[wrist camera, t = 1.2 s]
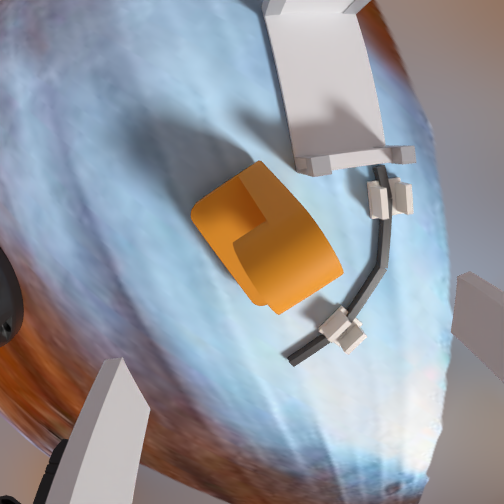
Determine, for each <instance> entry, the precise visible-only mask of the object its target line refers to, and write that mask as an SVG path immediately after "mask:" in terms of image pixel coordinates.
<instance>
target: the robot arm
mask: <svg viewBox="0 0 504 504" xmlns="http://www.w3.org/2000/svg"><path fill="white" fill-rule="evenodd" d="M23 313H24V309H23V299H22V294H21V290H20V286H19V283H18V280H17V277H16V275H15V273H14V270H13V268H12V266H11V264H10V262H9V261H8V259H7V257H6V256H5V254H4V253H3V251H2V250H1V249H0V347H2V346H4V345H6V344H7V343H8V342H9V341H10V340H11V339H12V338H13V337H14V336H15V335H16V334H17V333H18V331H19V330H20V328H21V325H22V322H23ZM451 333H452V334H453V335H454V336H455V337H456V338H458V339H459V340H460V341H461V342H462V343H463V344H464V345H465V346H466V347H467V348H468V349H469V350H470V351H471V352H472V353H473V354H475V355H476V356H477V357H478V358H479V359H480V360H481V361H482V362H483V363H484V364H485V365H486V366H487V367H488V368H489V369H490V370H491V371H492V372H493V373H494V374H495V375H496V376H497V377H498V378H499V379H500V380H501V381H502V382H503V383H504V292H503V291H501V290H500V289H498V288H497V287H495V286H493V285H492V284H490V283H488V282H487V281H485V280H483V279H482V278H480V277H479V276H477V275H475V274H474V273H472V272H467V273H464V274H462V275H459V276H458V277H457V288H456V298H455V306H454V314H453V321H452V327H451ZM149 413H150V408H149V406H148V404H147V402H146V401H145V399H144V397H143V396H142V394H141V392H140V390H139V388H138V387H137V385H136V383H135V381H134V379H133V377H132V375H131V374H130V372H129V370H128V368H127V366H126V364H125V362H124V360H123V358H115V359H106V360H105V361H104V363H103V365H102V367H101V369H100V371H99V373H98V375H97V377H96V379H95V381H94V384H93V386H92V388H91V390H90V392H89V394H88V397H87V399H86V401H85V403H84V405H83V408H82V410H81V412H80V415H79V417H78V419H77V422H76V424H75V426H74V429H73V431H72V433H71V436H70V438H69V439H62V441H61V442H60V443H59V444H58V445H57V446H56V448H55V449H54V450H53V453H52V455H51V457H50V460H49V464H48V465H47V467H46V471H45V474H44V475H43V478H42V480H41V483H40V485H39V488H38V491H37V494H36V497H35V499H34V502H33V504H132V499H133V493H134V488H135V481H136V476H137V471H138V466H139V461H140V455H141V450H142V445H143V441H144V436H145V431H146V426H147V422H148V417H149ZM0 504H21V503H20V502H18V501H17V500H16V499H15V498H13V497H11V496H7V495H6V496H1V497H0Z"/></svg>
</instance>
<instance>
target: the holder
mask: <svg viewBox="0 0 504 504" xmlns="http://www.w3.org/2000/svg"><path fill="white" fill-rule="evenodd" d="M369 1H371V0H263V2H262V5H261V9H262V12H263V16H264V20H265V24H266V28H267V32H268V36H269V40H270V44H271V49H272V53H273V57H274V61H275V66H276V70H277V75H278V79H279V84H280V89H281V93H282V98H283V103H284V108H285V113H286V118H287V123H288V128H289V133H290V138H291V144H292V149H293V155H294V160H295V166H296V172H297V173H301V174H305V175H308V176H312V177H317V176H323V175H329V174H332V170H338V169H344V168H351V167H358V166H366V165H373V164H381V163H395V164H410V163H416V156H415V148H414V146H389V145H385V138H384V132H383V126H382V120H381V115H380V109H379V104H378V99H377V94H376V89H375V85H374V80H373V76H372V71H371V67H370V63H369V59H368V55H367V51H366V48H365V44H364V41H363V37H362V34H361V30H360V27H359V24H358V20H357V17H356V13H358V12H359V11H360V10H361V9H362V8H363V7H364V6H365V5H366V4H367V3H368V2H369Z"/></svg>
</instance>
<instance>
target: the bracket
mask: <svg viewBox="0 0 504 504" xmlns="http://www.w3.org/2000/svg"><path fill="white" fill-rule="evenodd" d="M191 219H192V221H193V223H194V224H195V226H196V227H197V228H198V230H199V231H200V232H201V234H202V235H203V237H204V238H205V239H206V241H207V242H208V243H209V245H210V246H211V248H212V249H213V250H214V252H215V253H216V254H217V256H218V257H219V258H220V260H221V261H222V262H223V264H224V265H225V266H226V268H227V269H228V271H229V272H230V273H231V275H232V276H233V277H234V279H235V280H236V281H237V283H238V284H239V285H240V287H241V288H242V289H243V291H244V292H245V293H246V294H247V296H248V297H249V298H250V300H251V301H252V302H253V303H254V304H255V305H258V306H264V305H267V304H268V306H269V307H270V308H271V309H272V310H273V311H274V312H275V313H276V314H278V315H280V314H281V313H283V312H284V311H286V310H288V309H289V308H291V307H293V306H294V305H296V304H297V303H299V302H301V301H302V300H304V299H305V298H307V297H308V296H310V295H312V294H313V293H315V292H316V291H318V290H319V289H321V288H323V287H324V286H326V285H327V284H329V283H330V282H332V281H333V280H335V279H336V278H338V277H339V276H341V275H342V274H343V273H344V272H343V269H342V266H341V264H340V262H339V260H338V258H337V256H336V254H335V252H334V250H333V249H332V247H331V245H330V244H329V242H328V240H327V239H326V237H325V236H324V234H323V232H322V231H321V229H320V228H319V226H318V225H317V224H316V222H315V221H314V219H313V218H312V217H311V215H310V214H309V213H308V212H307V210H306V209H305V208H304V207H303V206H302V205H301V203H300V202H299V201H298V200H297V199H296V198H295V197H294V196H293V195H292V193H291V192H290V191H289V190H288V189H287V188H286V187H285V186H284V185H283V184H282V183H281V182H280V180H279V179H278V178H277V177H276V176H275V175H274V174H273V173H272V172H271V171H270V170H269V169H268V168H267V167H266V166H265V164H264V163H263V162H262V161H257V162H256V163H254V164H253V165H251V166H249V167H248V168H246V169H245V170H243V171H242V172H240V173H239V174H237V175H236V176H234V177H233V178H231V179H230V180H228V181H227V182H225V183H224V184H222V185H221V186H219V187H218V188H216V189H215V190H213V191H212V192H211V193H209V194H208V195H206V196H205V197H203V198H202V199H200V200H199V201H198V202H196V204H195V205H194V207H193V208H192V210H191Z"/></svg>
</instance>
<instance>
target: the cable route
mask: <svg viewBox="0 0 504 504" xmlns="http://www.w3.org/2000/svg"><path fill="white" fill-rule="evenodd" d="M373 170H374V174H375V178H376V180H375V181H369V182H367V189H368V198H369V209H370V218H371V219H376V218H380V223H379V240H378V253H377V264H376V266H375V268H374V269H373V271H372V272H371V274H370V276H369V277H368V279H367V280H366V282H365V283H364V285H363V286H362V288H361V289H360V291H359V292H358V294H357V296H356V297H355V299H354V300H353V301H352V303H351V304H350V306H349V307H348V309H345V308H344V307H343V306H342V305H341V306H340V307H339V308H338V309H337V310H336V311H335V312H334V313H333V314H332V315H331V316H330V317H329V318H328V319H327V320H326V321H325V322H324V323H323V324H322V325H321V326H320V327H319V328H318V331H319V332H320V333H322V335H320V336H319V337H317V338H316V339H315V340H313V341H312V342H310V343H309V344H307V345H306V346H304V347H303V348H301V349H300V350H298V351H297V352H295V353H294V354H292V355H291V356H289V357H288V360H289V363H290V364H291V365H292V366H293V367H294V366H296V365H297V364H299V363H300V362H302V361H304V360H305V359H307V358H308V357H310V356H311V355H313V354H314V353H316V352H317V351H318V350H320V349H321V348H323V347H324V346H326V345H327V344H329V343H330V342H331V343H332V342H334V343H335V344H337V345H338V346H339V347H340V346H341V347H342V349H343V351H344V352H345V353H346V354H348V355H349V354H350V353H351V352H352V351H353V350H354V349H355V348H356V347H357V346H358V345H359V344H360V343H361V342H362V341H363V340H364V339H365V338H366V337H367V336H366V334H365V333H364V331H363V330H362V329H361V327H360V326H361V325H362V323H361V322H360V321H359V320H358V319H357V318H356V316H357V315H358V313H359V312H360V310H361V309H362V307H363V306H364V304H365V303H366V301H367V300H368V298H369V297H370V295H371V294H372V292H373V291H374V289H375V288H376V286H377V285H378V283H379V282H380V280H381V279H382V277H383V275H384V274H385V272H386V271H387V270H386V269H385V268H388V260H389V249H390V237H391V222H392V215H396V214H401V213H404V214H407V215H409V214H413V198H412V185H411V184H408V183H403V182H401V181H400V178H399V177H396V178H389V179H388V176H387V172H386V168H385V165H378V166H375V167H373Z"/></svg>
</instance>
